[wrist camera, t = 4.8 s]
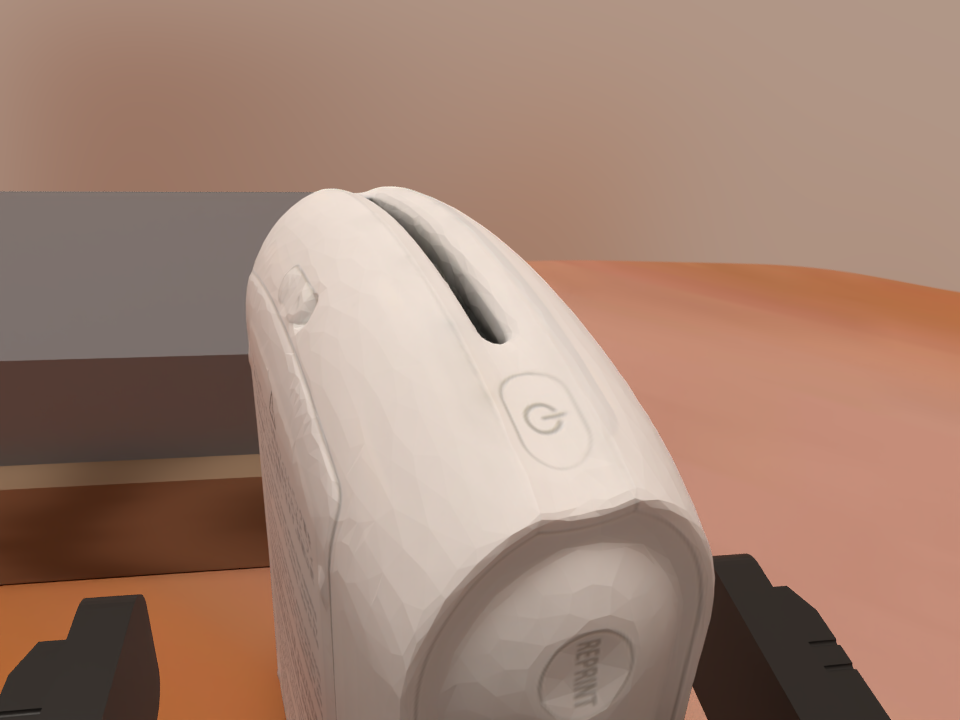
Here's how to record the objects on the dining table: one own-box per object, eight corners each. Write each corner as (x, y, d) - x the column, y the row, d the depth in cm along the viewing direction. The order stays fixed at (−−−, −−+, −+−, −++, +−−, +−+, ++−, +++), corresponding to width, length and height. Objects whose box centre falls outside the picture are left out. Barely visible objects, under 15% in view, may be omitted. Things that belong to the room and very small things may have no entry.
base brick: (-195, 598, 21) (-238, 502, 19) (6, 328, 34) (-11, 258, 32) (407, 556, 23) (409, 469, 22) (379, 319, 36) (378, 255, 35)
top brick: (-168, 474, 20) (-211, 367, 19) (8, 268, 32) (-10, 191, 30) (369, 449, 22) (367, 350, 21) (355, 264, 34) (353, 192, 32)
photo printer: (641, 1064, 13) (843, 404, 7) (379, 1194, 12) (369, 497, 6) (432, 609, 22) (449, 127, 16) (264, 651, 20) (211, 136, 14)
